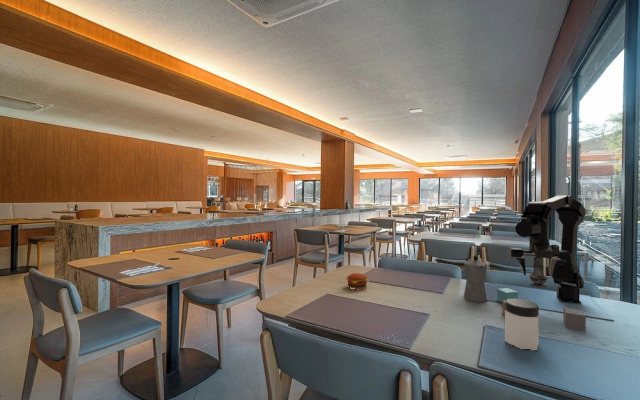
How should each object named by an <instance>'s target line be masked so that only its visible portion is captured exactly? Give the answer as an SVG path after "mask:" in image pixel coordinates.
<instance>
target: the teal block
mask: <svg viewBox="0 0 640 400" xmlns="http://www.w3.org/2000/svg"><path fill="white" fill-rule="evenodd" d="M496 291H497V294H496V296H497V297H496V301H497V300H498V302H499V303H501V304H502V300H507V299H519V298H518V297H519V295H518V294H519V293H518V291H516V290H514V289H511V288H510V287H505V288H497V289H496Z"/></svg>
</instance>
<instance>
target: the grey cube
mask: <svg viewBox="0 0 640 400" xmlns="http://www.w3.org/2000/svg"><path fill="white" fill-rule="evenodd" d="M562 314H563V315H562V316H563V317H562V318H563V320H562V321H563V322H562V323H563V325H564V326H565V328H567V329H571V330H578V331H582V332H586V331H587V328H586V327H587V324H586V322H587V315H586V314H585V312H584V311H583V310H580V309H574V308H566V307H563V313H562Z"/></svg>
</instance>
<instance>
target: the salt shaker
mask: <svg viewBox="0 0 640 400" xmlns="http://www.w3.org/2000/svg"><path fill="white" fill-rule="evenodd" d="M532 267H533V270H532V271H533V272H532V273H531V274H529V275H528V276H529V279H530V281H531V283H530V284H529V286H531V287H535V288H538V289H539V288H540V289H545V288H547V287H548V286H547V285H546V283H547V281H548V279H549V277H548V276H547V275H545V273H544V268H545V266H544V258H537V257H536V256H534V257H533V265H532Z"/></svg>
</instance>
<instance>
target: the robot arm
mask: <svg viewBox="0 0 640 400" xmlns="http://www.w3.org/2000/svg"><path fill="white" fill-rule="evenodd" d="M554 211H555V213H557V215H558V220H559V222H560V223H561V225H562V231H561V232H562V233H561V241H560V242H561V245H560V246H559V244H550V239H549V223H551V220H550V218H551V216H552V215H554ZM586 213H587V211H586V208H585V206H584V205H583V203H582V202H580V201H578V200H576V199H574V198H573V196H572V195H569V194H566V195H564V194H563V195H562V194H560V195H559V194H557V195H554V197H551V198H548V199H545V200H543V201H529V202H528V203H527V205H525V208H524V210H523V213H522V215H521V218H520V221H519V222H518V223H517V224H516V225H515V228H514V230H515V232H516V234H517V235H518V236H519V237H522V238H527V237H528V240H529V244H528V245H529V247H528V250H526V249H525V250H524V249H522V248H521V247H509V248H508V251H507V252H508V253H507V254H508V255H509V256H510V257H512V258H514V259H515V260H517V262H518V264H519V266H520V269H521V271H522V274H523V275H524V276H525V277H526V275H527V270H526V258H525V256H532V257H533V256H534V257H537V258H543V259H549V260H551V261H550V262H551V263H550V264H551V265H550V277H551V278H552V279H553V283H554V284H557V286H556V298H557V299H559V300H560V301H561V302H565V303H566V302H567V303H573V304H574V303H576V304H582V301H581V300H580V290H581V289H584V286H585V281H584V278H583V277H582V274H581V273H580V271H581V270H580V269H581V268H580V267H579V265H577V263H576V255H577V254H576V252H577V240H578V227H579V226H580V225H581V224H582V223H583V222H584V220H585V219H584V218H585V216H586Z"/></svg>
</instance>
